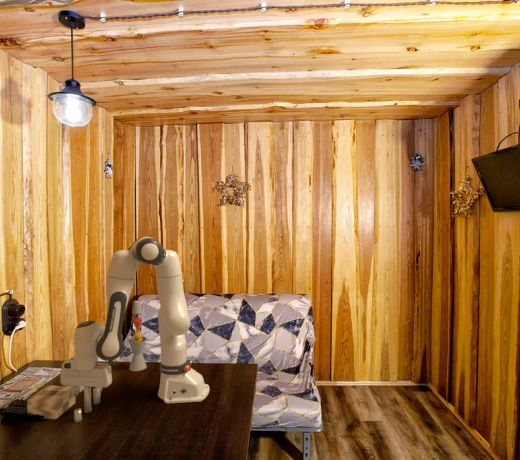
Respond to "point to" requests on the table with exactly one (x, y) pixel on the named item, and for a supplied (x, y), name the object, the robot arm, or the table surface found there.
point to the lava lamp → (137, 341)
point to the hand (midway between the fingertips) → (86, 395)
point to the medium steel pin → (95, 399)
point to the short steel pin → (77, 415)
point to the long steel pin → (87, 399)
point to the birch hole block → (51, 401)
